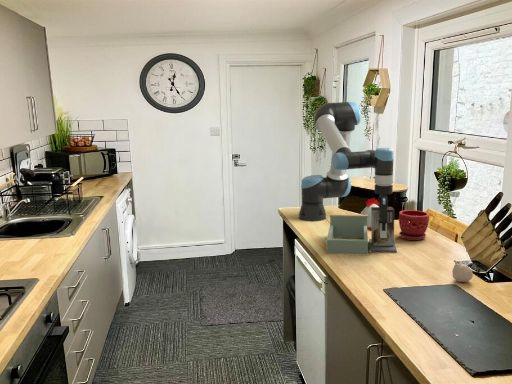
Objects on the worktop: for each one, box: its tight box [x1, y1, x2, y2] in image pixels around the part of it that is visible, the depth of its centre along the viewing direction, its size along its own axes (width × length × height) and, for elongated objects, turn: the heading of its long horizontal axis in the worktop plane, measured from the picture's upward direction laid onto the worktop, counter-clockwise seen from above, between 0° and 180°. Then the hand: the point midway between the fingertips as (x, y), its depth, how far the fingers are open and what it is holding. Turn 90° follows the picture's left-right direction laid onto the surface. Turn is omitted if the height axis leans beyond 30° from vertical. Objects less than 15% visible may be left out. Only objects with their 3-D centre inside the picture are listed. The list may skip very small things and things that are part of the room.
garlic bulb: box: [451, 259, 474, 283], centre depth 159 cm, size 7×6×8 cm
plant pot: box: [398, 209, 430, 241], centre depth 210 cm, size 13×13×12 cm
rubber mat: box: [368, 238, 398, 254], centre depth 200 cm, size 15×11×1 cm
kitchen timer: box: [360, 197, 379, 231], centre depth 230 cm, size 14×14×15 cm
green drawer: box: [326, 213, 369, 256], centre depth 204 cm, size 25×17×11 cm
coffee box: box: [370, 206, 395, 246], centre depth 199 cm, size 9×6×16 cm
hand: (382, 233), depth 199 cm, fingers open, 10 cm apart
